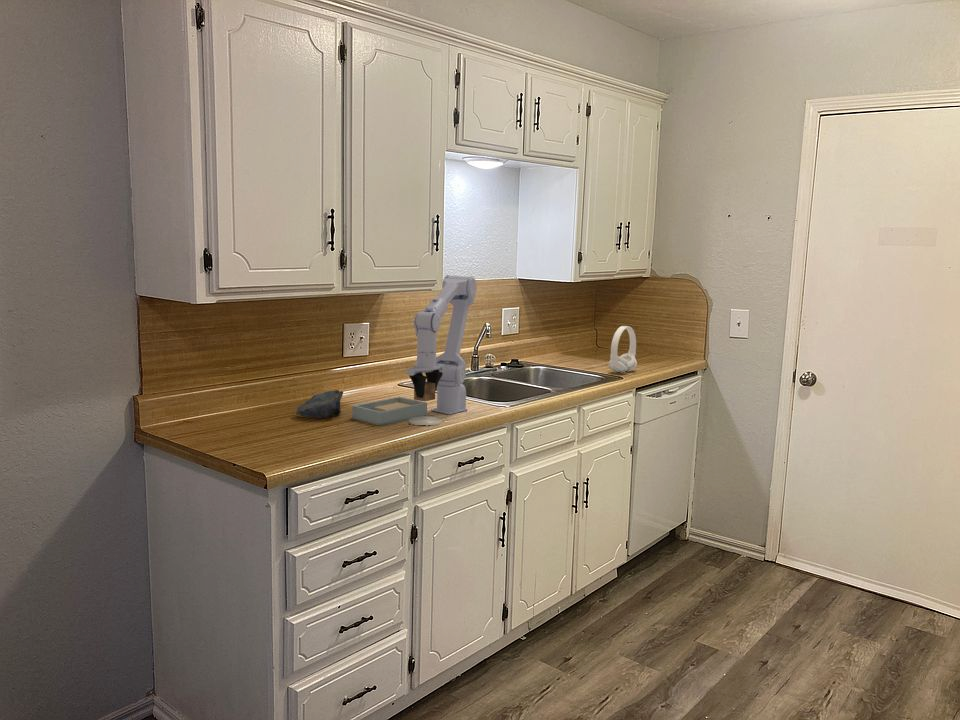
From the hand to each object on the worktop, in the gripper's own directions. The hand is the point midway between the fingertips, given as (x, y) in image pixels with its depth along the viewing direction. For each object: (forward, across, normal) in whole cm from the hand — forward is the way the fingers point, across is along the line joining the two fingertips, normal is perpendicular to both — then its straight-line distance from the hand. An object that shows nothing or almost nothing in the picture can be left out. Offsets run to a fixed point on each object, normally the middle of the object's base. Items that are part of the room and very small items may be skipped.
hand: (425, 396), depth 235 cm
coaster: (+8, 0, 0) cm, 8 cm away
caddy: (+8, +3, -12) cm, 15 cm away
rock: (+8, +18, -26) cm, 33 cm away
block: (+1, 0, 0) cm, 1 cm away
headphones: (+8, -126, -3) cm, 127 cm away
